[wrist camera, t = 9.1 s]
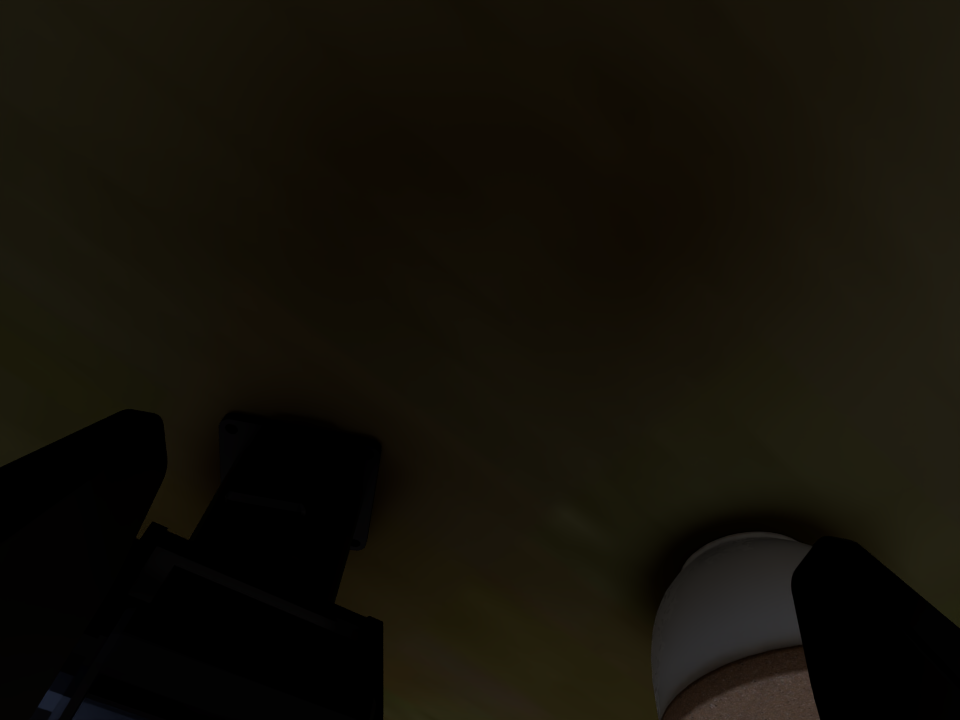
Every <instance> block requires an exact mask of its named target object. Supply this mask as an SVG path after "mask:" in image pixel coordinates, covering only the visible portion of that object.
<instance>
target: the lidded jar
mask: <svg viewBox="0 0 960 720" xmlns="http://www.w3.org/2000/svg"><path fill="white" fill-rule="evenodd" d="M811 548H812V546H811V545H808V544H805V543H801V542H798V541H796V540H794V539H793V538H791V537H788V536H785V535H782V534H778V533H773V532H763V531H751V532H742V533H736V534H732V535H728V536H725V537H722V538H719V539H716V540H714V541H712V542H710V543H708V544H706V545H704V546H703V547H701V548H699V549H698V550H697V551H696V552H694V553H693V554H692V555H691V556H690V557H689V558H688V559H687V560H686V562H685V563H684V565H683V566H682V568H681V571H680V573H679V574H678V575H677V576H676V578H675V579H674V580H673V582H672V583H671V584H670V586H669V587H668V589H667V590H666V592H665V594H664V596H663V598H662V601H661V603H660V605H659V608H658V610H657V613H656V617H655V622H654V627H653V633H652V646H651V665H652V680H653V687H654V693H655V700H656V706H657V712H658V717H659V720H820V718H819V715H818V711H817V708H816V704H815V700H814V696H813V692H812V688H811V684H810V679H809V674H808V669H807V664H806V660H805V655H804V650H803V645H802V640H801V635H800V630H799V625H798V620H797V616H796V611H795V606H794V601H793V596H792V591H791V579H792V575H793V572H794V570H795V569H796V568H797V566H798V565H799V564H800V562H801V561H802V560H803V558H804V557H805V556H806V554H807V553H808V552H809V550H810V549H811Z"/></svg>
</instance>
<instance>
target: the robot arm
mask: <svg viewBox="0 0 960 720" xmlns="http://www.w3.org/2000/svg"><path fill="white" fill-rule="evenodd" d="M230 424H232V425H235V426H236V427H237V428H235V427H232V426H231V425H230ZM219 445H220V473H221V485H220V487H219V488H218V490H217V492H216V494H215V495H214V497H213V499H212V501H211V502H210V504H209V506H208V508H207V509H206V511H205V513H204V515H203V516H202V518H201V520H200V521H199V523H198V525H197V527H196V528H195V530H194V532H193V534H192V535H191V537H190V539H189V540H187V539H185V538H182V537H180V536H178V535H176V534H173V533H171V532H169V531H167V529H168V528H167V527H164V526H162V525H160V524H158V523H155V522H153V521H152V523H151V524H150V526H149V527H148V528H147V530H146V531H145V533H144V534H143V536H142V537H141V538H140V540H139V539H136V536H137V534H138V532H139V530H140V527H141V525H142V523H143V521H144V519H145V517H146V515H147V513H148V511H149V509H150V507H151V504H152V502H153V500H154V498H155V496H156V494H157V492H158V490H159V488H160V486H161V484H162V481H163V479H164V477H165V474H166V470H167V451H166V442H165V433H164V424H163V420H162V419H161V417H160V416H159V415H157V414H155V413H150V412H144V411H139V410H133V409H126V410H122V411H120V412H117V413H115V414H113V415H111V416H109V417H107V418H105V419H102V420H100V421H98V422H96V423H94V424H92V425H90V426H87V427H85V428H83V429H81V430H79V431H77V432H75V433H73V434H70V435H68V436H66V437H64V438H62V439H60V440H58V441H55V442H53V443H51V444H49V445H47V446H45V447H43V448H40V449H38V450H36V451H34V452H32V453H30V454H28V455H26V456H23V457H21V458H19V459H17V460H15V461H13V462H11V463H8V464H6V465H4V466H2V467H0V720H383V622H382V621H380V620H378V619H376V618H373V617H371V616H368V617H364V616H362V615H360V614H357V613H355V612H353V611H350V610H348V609H346V608H344V607H341V606H339V605H337V604H334V603H335V600H336V596H337V593H338V589H339V585H340V582H341V578H342V575H343V571H344V568H345V564H346V561H347V557H348V554H349V550H362V549H363V548H365V546H366V542H367V538H368V532H369V526H370V519H371V513H372V507H373V501H374V494H375V488H376V482H377V476H378V469H379V463H380V457H381V451H382V450H381V446H380V444H379V443H378V442H377V441H375V440H372V439H369V438H363V437H358V436H353V435H347V434H342V433H337V432H331V431H326V430H321V429H316V428H310V427H305V426H300V425H294V424H289V423H284V422H279V421H273V420H268V419H263V418H257V417H252V416H247V415H242V414H236V413H229V414H226V415H225V416H224V417H223V419H222V420H221V422H220V424H219ZM365 450H370V451H372V453H368V452H366V451H365ZM355 539H356V540H355ZM791 591H792V596H793V601H794V606H795V611H796V616H797V620H798V625H799V630H800V635H801V640H802V645H803V650H804V655H805V660H806V664H807V669H808V674H809V679H810V684H811V688H812V692H813V696H814V700H815V704H816V708H817V711H818V715H819V718H820V720H960V628H959V627H957V626H956V625H955V624H954V623H953V622H951V621H950V620H949V619H948V618H947V617H945V616H944V615H943V614H942V613H941V612H939V611H938V610H937V609H936V608H935V607H933V606H932V605H931V604H930V603H929V602H928V601H926V600H925V599H924V598H923V597H922V596H920V595H919V594H918V593H917V592H916V591H914V590H913V589H912V588H911V587H910V586H908V585H907V584H906V583H905V582H904V581H902V580H901V579H900V578H899V577H898V576H896V575H895V574H894V573H893V572H892V571H890V570H889V569H888V568H887V567H886V566H884V565H883V564H882V563H881V562H880V561H878V560H877V559H876V558H875V557H874V556H873V555H871V554H870V553H869V552H868V551H867V550H865V549H864V548H863V547H862V546H861V545H859V544H858V543H856V542H854V541H852V540H848V539H842V538H837V537H831V536H824V537H822V538H820V539H818V540H817V541H816V543H815V544H814V545H813V546H812V548H811V549H810V550H809V552H808V553H807V554H806V556H805V557H804V558H803V560H802V561H801V562H800V564H799V565H798V566H797V568H796V569H795V570H794V572H793V575H792V579H791Z"/></svg>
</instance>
